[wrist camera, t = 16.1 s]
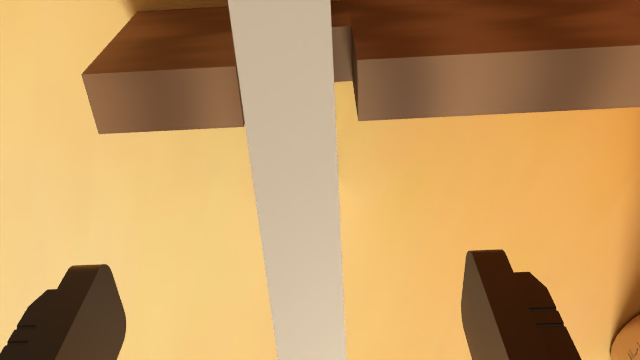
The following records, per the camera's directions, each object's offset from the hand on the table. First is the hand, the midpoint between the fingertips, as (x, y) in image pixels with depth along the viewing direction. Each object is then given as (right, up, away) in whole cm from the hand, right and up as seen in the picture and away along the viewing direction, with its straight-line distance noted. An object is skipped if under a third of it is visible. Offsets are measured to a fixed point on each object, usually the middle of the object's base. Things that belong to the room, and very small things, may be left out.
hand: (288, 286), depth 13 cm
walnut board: (+5, +10, +15) cm, 19 cm away
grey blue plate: (0, +10, +16) cm, 19 cm away
